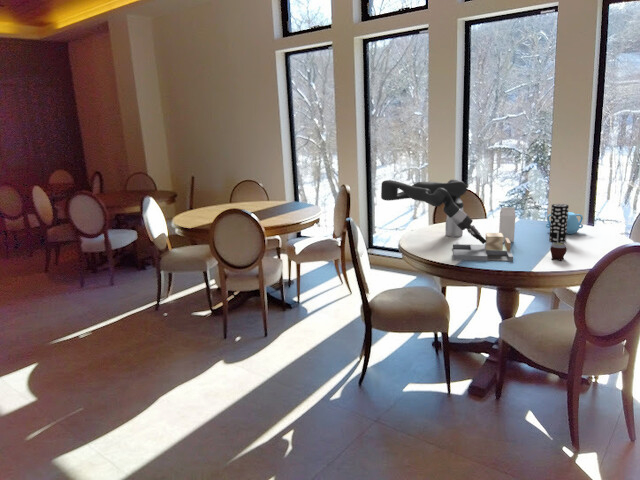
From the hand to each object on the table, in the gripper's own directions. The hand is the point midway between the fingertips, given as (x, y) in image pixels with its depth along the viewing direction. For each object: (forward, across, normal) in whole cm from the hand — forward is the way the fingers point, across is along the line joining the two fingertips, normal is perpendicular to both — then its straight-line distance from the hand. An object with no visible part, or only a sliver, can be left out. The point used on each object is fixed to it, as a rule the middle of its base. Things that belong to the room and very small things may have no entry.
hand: (484, 242), depth 259 cm
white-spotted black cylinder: (+32, -28, +25) cm, 50 cm away
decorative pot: (+38, -49, +30) cm, 68 cm away
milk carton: (+14, -27, +6) cm, 31 cm away
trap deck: (+2, +5, -5) cm, 7 cm away
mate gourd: (+27, +10, +20) cm, 35 cm away
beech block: (+5, 0, +1) cm, 5 cm away
